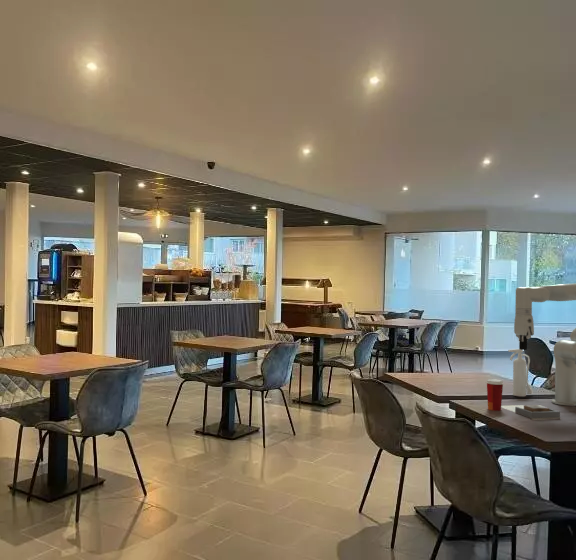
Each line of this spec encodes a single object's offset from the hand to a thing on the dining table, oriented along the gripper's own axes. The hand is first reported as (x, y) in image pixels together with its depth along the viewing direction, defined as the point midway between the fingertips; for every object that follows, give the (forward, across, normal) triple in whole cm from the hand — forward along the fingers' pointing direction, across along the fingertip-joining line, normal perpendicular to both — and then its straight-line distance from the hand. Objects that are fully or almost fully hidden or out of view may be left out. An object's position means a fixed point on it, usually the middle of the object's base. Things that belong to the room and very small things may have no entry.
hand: (523, 349), depth 287 cm
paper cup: (+27, -11, +22) cm, 37 cm away
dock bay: (+27, -17, +9) cm, 33 cm away
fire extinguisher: (+27, +24, -15) cm, 39 cm away
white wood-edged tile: (+27, -25, +10) cm, 37 cm away
